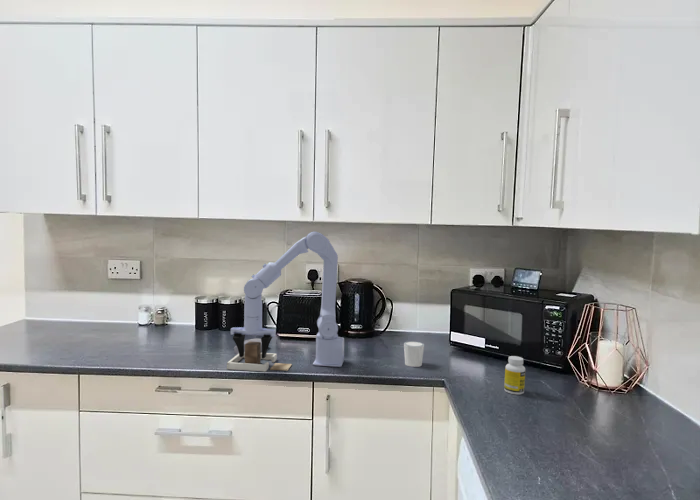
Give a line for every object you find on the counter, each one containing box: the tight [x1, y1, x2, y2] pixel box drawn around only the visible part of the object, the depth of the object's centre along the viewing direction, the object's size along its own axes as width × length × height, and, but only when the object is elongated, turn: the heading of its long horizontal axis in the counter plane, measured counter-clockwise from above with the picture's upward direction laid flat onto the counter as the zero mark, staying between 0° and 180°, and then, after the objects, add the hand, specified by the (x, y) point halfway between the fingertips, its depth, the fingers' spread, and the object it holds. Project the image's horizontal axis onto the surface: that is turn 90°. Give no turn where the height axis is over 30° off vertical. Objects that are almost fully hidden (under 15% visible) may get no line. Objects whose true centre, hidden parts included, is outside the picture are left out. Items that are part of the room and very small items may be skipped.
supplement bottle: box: [503, 355, 526, 395], centre depth 128 cm, size 5×5×10 cm
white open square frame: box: [226, 352, 278, 373], centre depth 147 cm, size 13×13×2 cm
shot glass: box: [403, 341, 425, 368], centre depth 151 cm, size 7×7×7 cm
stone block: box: [233, 338, 270, 355], centre depth 163 cm, size 12×5×10 cm
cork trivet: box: [269, 362, 293, 372], centre depth 145 cm, size 6×6×1 cm
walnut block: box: [244, 341, 262, 364], centre depth 147 cm, size 4×4×7 cm
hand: (252, 356), depth 147 cm, fingers open, 7 cm apart
